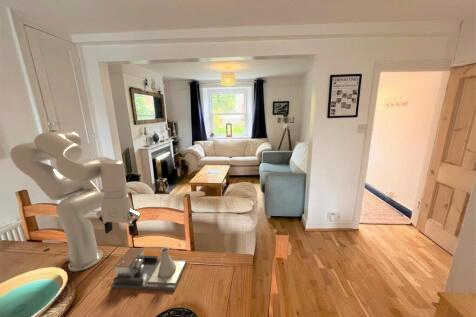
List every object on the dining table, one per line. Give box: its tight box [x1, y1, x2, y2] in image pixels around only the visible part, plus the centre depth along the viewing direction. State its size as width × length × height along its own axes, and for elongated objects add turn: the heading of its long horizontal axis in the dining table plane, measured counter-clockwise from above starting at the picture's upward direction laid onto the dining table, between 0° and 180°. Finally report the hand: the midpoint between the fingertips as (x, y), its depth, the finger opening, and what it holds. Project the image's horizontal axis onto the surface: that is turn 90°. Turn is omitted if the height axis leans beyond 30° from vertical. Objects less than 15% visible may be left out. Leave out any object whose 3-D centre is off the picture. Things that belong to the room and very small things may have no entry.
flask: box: [158, 247, 176, 277], centre depth 78 cm, size 7×7×10 cm
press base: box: [110, 255, 188, 292], centre depth 80 cm, size 25×14×4 cm, turn 86°
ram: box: [113, 247, 145, 278], centre depth 79 cm, size 8×10×7 cm
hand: (120, 232), depth 77 cm, fingers open, 9 cm apart
